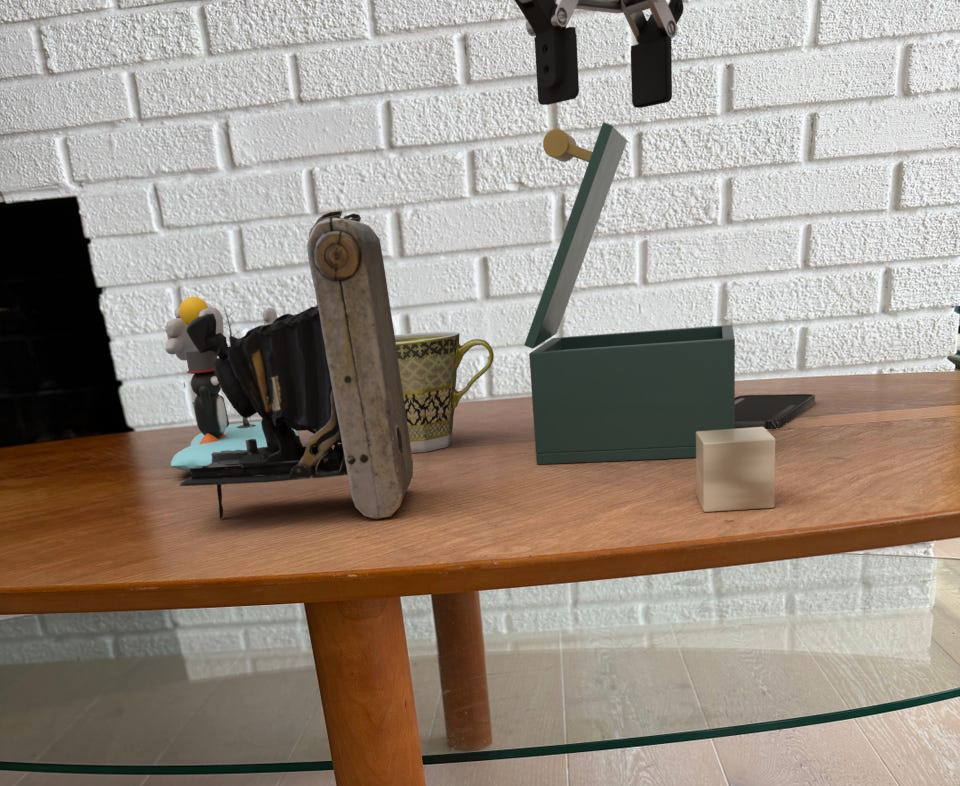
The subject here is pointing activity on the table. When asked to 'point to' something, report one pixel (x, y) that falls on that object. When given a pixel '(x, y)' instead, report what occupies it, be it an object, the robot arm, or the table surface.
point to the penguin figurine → (208, 390)
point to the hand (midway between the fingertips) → (607, 103)
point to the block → (735, 469)
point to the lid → (575, 222)
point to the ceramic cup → (432, 384)
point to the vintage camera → (320, 380)
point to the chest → (631, 394)
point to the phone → (770, 409)
